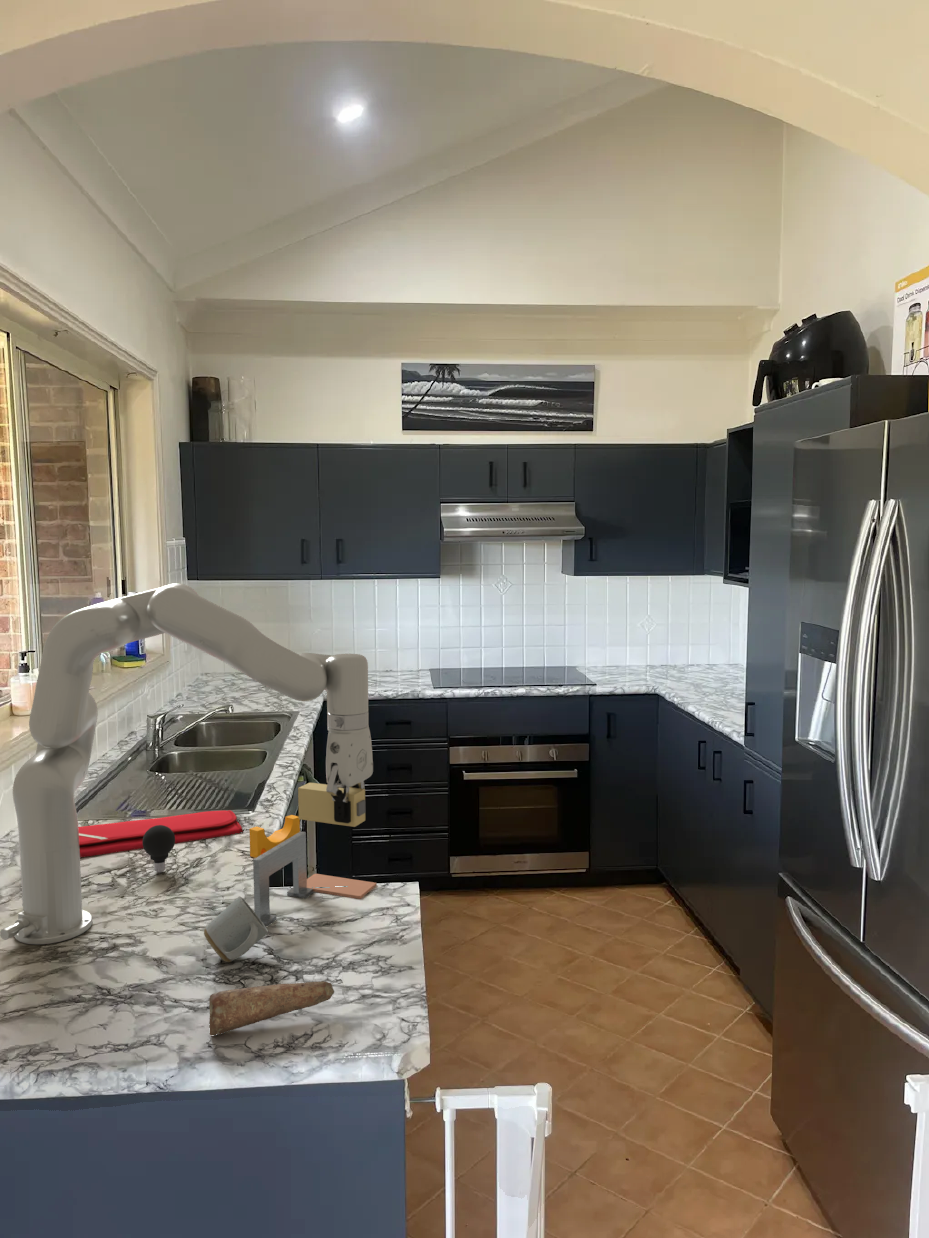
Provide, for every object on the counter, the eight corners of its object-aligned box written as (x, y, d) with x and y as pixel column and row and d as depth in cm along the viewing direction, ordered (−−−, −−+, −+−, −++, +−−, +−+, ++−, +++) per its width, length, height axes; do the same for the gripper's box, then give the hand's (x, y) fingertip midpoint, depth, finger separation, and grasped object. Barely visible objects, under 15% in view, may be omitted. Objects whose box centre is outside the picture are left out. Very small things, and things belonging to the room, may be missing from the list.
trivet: (360, 899, 171) (360, 896, 170) (296, 889, 175) (296, 886, 175) (376, 885, 177) (376, 882, 177) (314, 876, 182) (314, 873, 182)
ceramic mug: (227, 963, 148) (200, 926, 149) (269, 930, 151) (242, 893, 152) (225, 970, 138) (196, 929, 139) (269, 935, 141) (240, 895, 142)
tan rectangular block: (357, 827, 163) (356, 795, 162) (298, 819, 167) (298, 787, 167) (367, 820, 166) (367, 789, 166) (310, 813, 171) (309, 782, 171)
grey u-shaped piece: (267, 926, 159) (265, 861, 158) (248, 923, 160) (246, 858, 159) (313, 892, 174) (312, 833, 172) (295, 890, 175) (294, 830, 174)
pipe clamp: (287, 840, 204) (286, 813, 203) (300, 844, 201) (299, 816, 200) (244, 855, 194) (244, 826, 194) (257, 860, 192) (257, 831, 191)
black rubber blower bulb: (165, 864, 189) (163, 818, 188) (182, 872, 184) (180, 825, 184) (137, 873, 184) (135, 826, 183) (154, 881, 180) (152, 833, 179)
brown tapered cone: (203, 1025, 127) (202, 984, 126) (326, 997, 134) (325, 958, 134) (211, 1048, 121) (210, 1005, 121) (338, 1018, 129) (338, 977, 128)
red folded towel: (243, 836, 208) (243, 820, 208) (50, 865, 190) (49, 848, 190) (229, 817, 222) (229, 802, 222) (48, 842, 204) (47, 826, 204)
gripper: (342, 732, 155) (343, 834, 157) (387, 714, 170) (387, 807, 172) (305, 728, 158) (307, 829, 159) (352, 711, 173) (353, 803, 175)
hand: (349, 817), depth 166 cm, fingers closed on tan rectangular block, 4 cm apart
